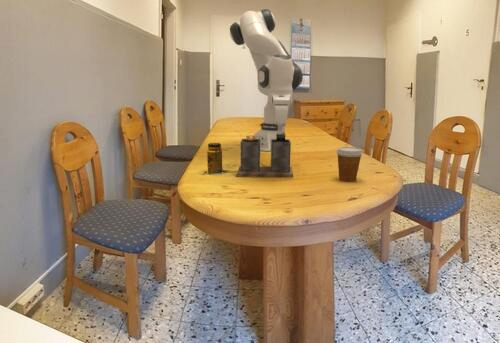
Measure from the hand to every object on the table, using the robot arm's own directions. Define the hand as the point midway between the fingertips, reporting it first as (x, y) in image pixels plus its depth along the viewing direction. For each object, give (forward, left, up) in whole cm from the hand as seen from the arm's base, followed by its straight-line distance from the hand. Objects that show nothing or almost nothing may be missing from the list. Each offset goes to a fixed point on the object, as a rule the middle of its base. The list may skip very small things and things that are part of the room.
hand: (279, 133), depth 147 cm
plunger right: (0, 0, -12) cm, 12 cm away
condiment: (-23, -12, -17) cm, 31 cm away
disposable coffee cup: (+26, +7, -17) cm, 32 cm away
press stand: (-5, -3, -16) cm, 17 cm away
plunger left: (-10, -6, -13) cm, 18 cm away
